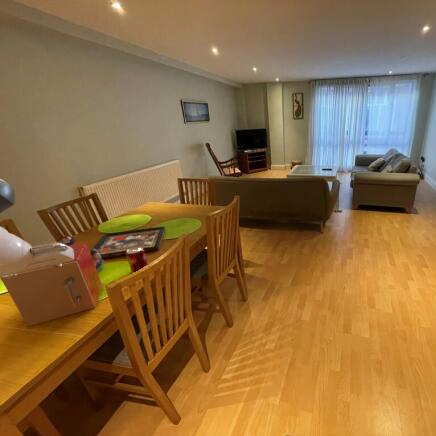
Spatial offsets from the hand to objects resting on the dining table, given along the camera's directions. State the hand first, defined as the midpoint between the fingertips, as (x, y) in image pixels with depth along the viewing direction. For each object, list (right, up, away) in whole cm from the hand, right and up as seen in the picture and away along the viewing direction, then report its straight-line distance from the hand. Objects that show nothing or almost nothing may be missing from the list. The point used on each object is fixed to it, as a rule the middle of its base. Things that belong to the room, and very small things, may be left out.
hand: (36, 269), depth 68 cm
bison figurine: (-25, -12, +50) cm, 57 cm away
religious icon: (-25, -1, +77) cm, 80 cm away
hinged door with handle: (-13, -23, +21) cm, 34 cm away
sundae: (-46, -7, +62) cm, 77 cm away
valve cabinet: (-19, -20, +30) cm, 41 cm away
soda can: (-2, -12, +50) cm, 51 cm away
